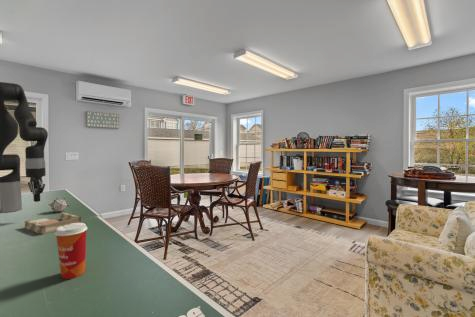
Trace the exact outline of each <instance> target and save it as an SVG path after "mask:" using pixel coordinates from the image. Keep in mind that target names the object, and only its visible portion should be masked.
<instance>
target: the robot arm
mask: <svg viewBox="0 0 475 317" xmlns="http://www.w3.org/2000/svg"><path fill="white" fill-rule="evenodd" d="M8 101H9V102H17V103H18V105H17V106H16V108H15V109H14V112H13V115H14V117H13V116H12V115H11V113H10V112H9V110H8V109H7V108H6V105H5V102H8ZM37 125H38V123H37V119H36V118H35V116H34V115H33V113H32V110H31V109H30V106H29V102H28V98H27V96H26V93H25V91H24V88H23V87H22V86H21V84H19V83H18V84H17V83H14V82H13V83H12V82H4V81H3V82H2V81H0V171H11V172H10V173H8V174H6V175H1V176H0V213H12V212H18V211H20V210H22V209H23V205H22V203H23V202H22V200H23V199H22V188H21V187H22V186H21V184H22V183H21V157H20V156H19V154H17V153H14V154H13V153H12V154H9V153H8V154H5V150H6V149H7V148H8V146H9V145H10V144H11V143H13V142H14V140H15V139H16V138H17V137H18V133H19V137H20V139H22V140H23V141H25V142H36V143H35V144H34V145H30V146H27V147H26V146H25V149H24V151H25V152H24V153H25V154H24V155H25V164H24V165H25V177H26V178H30V179H29V181H28V182H27V185H28V188H29V190H30V193H32V195H33V202H35V203H37V202H40V201H41V194H43V192H44V190H45V186H46V184H45V183H44V181H43V177H45V176H46V161H45V147H46V144H47V139H48V136H49V133H48V131H47V129H46V128H44V127H41V126H40V127H39V126H37Z"/></svg>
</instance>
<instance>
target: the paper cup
mask: <svg viewBox="0 0 475 317" xmlns="http://www.w3.org/2000/svg"><path fill="white" fill-rule="evenodd" d="M87 230H88V226H87V225H86V223H84V222H81V223H72V224H69V225H68V224H67V225H64V226H60V227H58V228H57V230H56V231H54V232H55V233H54V235H55V236H56V244H57V245H56V246H57V252H58V261H59V267H60V275H61V278H62V279H63V280H72V279H75V278H78V277H81V276H83V275H84V274H85V271H86V256H87V255H86V254H87V252H86V251H87V248H86V247H87Z"/></svg>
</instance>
